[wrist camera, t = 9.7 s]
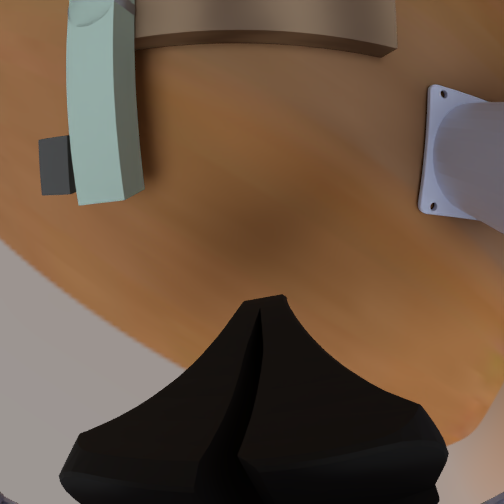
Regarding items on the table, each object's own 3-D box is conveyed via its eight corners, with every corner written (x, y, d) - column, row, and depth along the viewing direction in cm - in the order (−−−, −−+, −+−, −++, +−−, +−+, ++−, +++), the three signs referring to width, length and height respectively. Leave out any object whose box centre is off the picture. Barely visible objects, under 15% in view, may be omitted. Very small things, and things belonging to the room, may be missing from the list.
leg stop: (104, 132, 17) (67, 135, 13) (106, 179, 18) (70, 194, 14) (78, 135, 17) (38, 139, 13) (80, 180, 18) (42, 195, 14)
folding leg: (93, 4, 11) (69, -9, 9) (135, -10, 11) (116, -27, 9) (102, 194, 15) (78, 205, 13) (145, 189, 15) (125, 199, 13)
